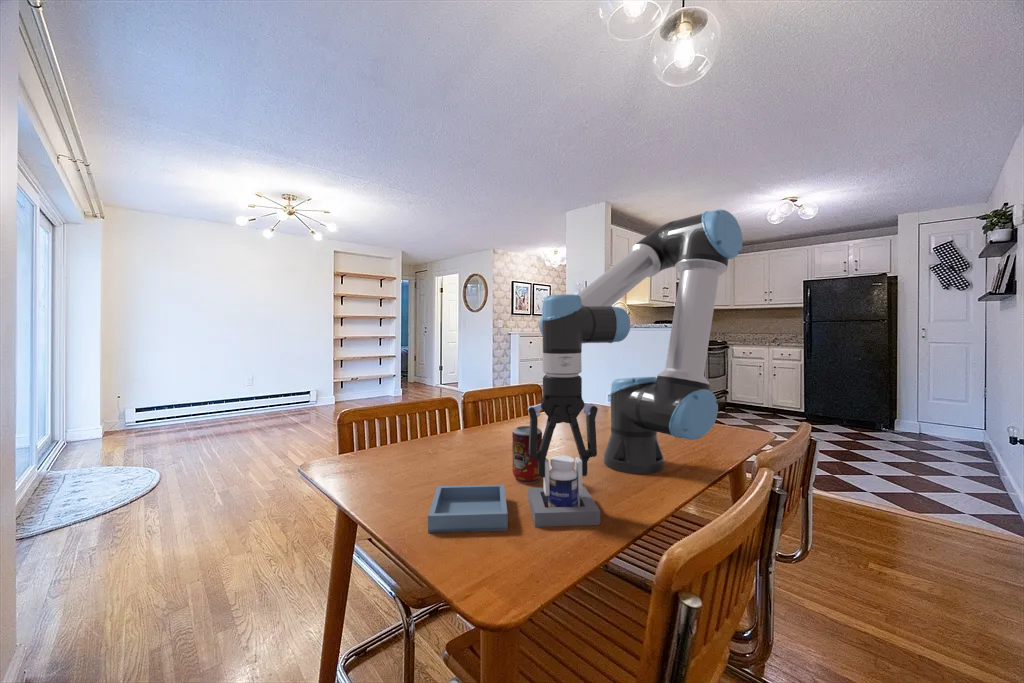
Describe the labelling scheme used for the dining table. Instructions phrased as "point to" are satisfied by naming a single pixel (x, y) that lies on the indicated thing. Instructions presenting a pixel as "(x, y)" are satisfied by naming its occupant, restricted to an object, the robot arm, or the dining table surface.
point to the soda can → (524, 456)
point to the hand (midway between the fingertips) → (562, 492)
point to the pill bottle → (562, 482)
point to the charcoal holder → (563, 510)
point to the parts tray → (468, 509)
